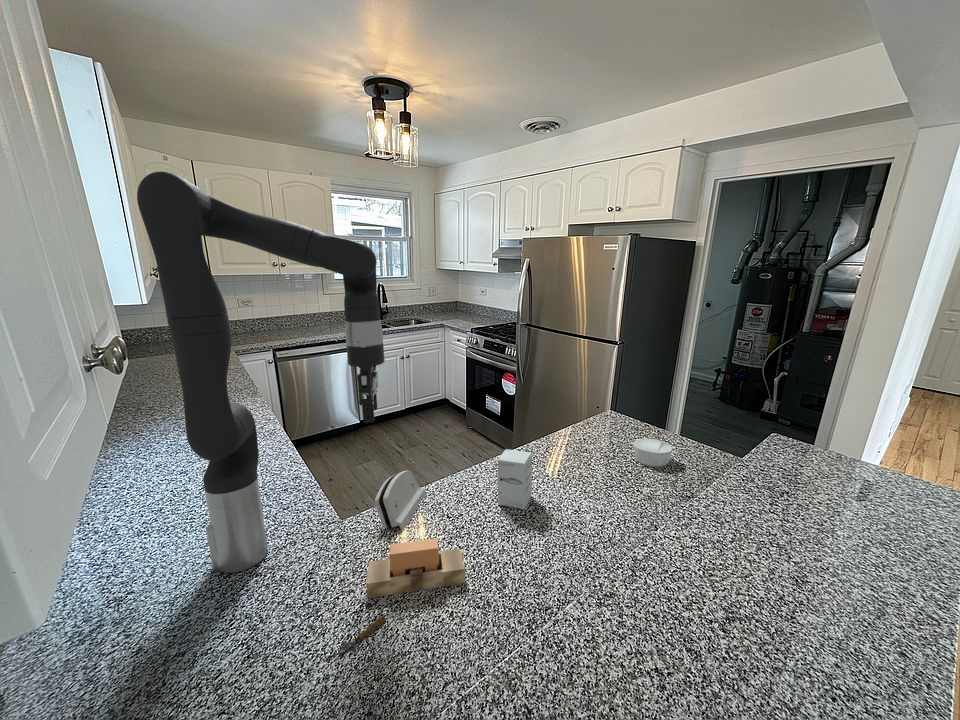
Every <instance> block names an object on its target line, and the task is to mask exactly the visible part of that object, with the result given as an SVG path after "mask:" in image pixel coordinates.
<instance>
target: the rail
mask: <svg viewBox="0 0 960 720" xmlns="http://www.w3.org/2000/svg"><path fill="white" fill-rule="evenodd" d="M438 555H439V565H437V570H436V571H430V572H426V571H425V567H418V568H411V569H406V573H410V574H406V575H403V576H397V577H393V576H392V575H393V571H391V570H390V558H385V559H379V560H371V561H368V566H367V575H366V581H365V587H366V597H367V599H372V598H378V597H383V596H384V597H385V596H391V595H397V594H402V593H403V594H405V593H409V592H416V591H417V592H418V591H422V590H429V589H435V588H442V587H448V586H454V585H460V584H465V583H466V570H465V569H466V567H465V563H464V558H463V553H462V549H461V548H456V549H447V550H441V551H439V550H438ZM438 568H441V569H438ZM423 571H424V572H423ZM391 574H392V575H391Z"/></svg>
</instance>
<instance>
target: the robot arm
mask: <svg viewBox="0 0 960 720" xmlns="http://www.w3.org/2000/svg"><path fill="white" fill-rule="evenodd" d="M136 196H137V197H136V200H137V205H138V209H139V213H140V216H141V218H142V222H143V224H144V225H143V226H144V227H145V230H146V233H147V236H148V240H149V242H150V245H151V247H152V251H153V255H154V258H155V261H156V268H157V272H158V273H157V274H158V278H159V284H160V289H161V293H162V298H163V303H164V308H165V309H164V310H165V314H166V315H165V316H166V319H167V324H168V330H169V334H170V335H169V336H170V338H171V343H172V345H173V346H172V347H173V350H174V354H175V361H176V365H177V371H178V376H179V381H180V385H181V389H182V397H183V409H184V420H185V421H184V423H185V433H186V439H187V442H188V445H189V447H190V448H191V450H192V452H194V454H195V455H197V456H198V457H200V458H201V459H203V460H206V461H208V465H207V468H206V470H205V472H204V473H203V479H202V482H203V488H204V494H205V495H204V496H205V500H206V505H207V513H208V518H209V524H208V525H207V526H206V529H205V531H206V536H207V537H206V538H207V543H208V548H209V553H210V560H211V567H212V571H219V572H221V573H227V574H232V573H233V574H234V573H238V572H243V571H245V570H248V569H250V568H252V567H254V566H255V565H257V564H258V563H260V562H262V561H263V560H264V559H265V557H266V556H267V554H268V552H269V550H268V549H269V547H268V540H267V533H266V526H265V519H264V512H263V506H262V505H263V504H262V498H261V491H260V483H259V482H260V481H259V476H258V475H259V474H258V465H259V459H260V456H259V455H260V454H259V445H258V434H257V427H256V422H255V418H254V416H253V414H252V412H250V410H249V409H248V408H247V407H245V406H244V405H242V404H240V403H237V402H230V399H229V398H230V397H229V392H228V391H229V390H228V374H229V373H228V371H229V366H230V365H229V364H230V358H231V353H232V352H231V351H232V341H233V340H232V332H231V331H232V330H231V325H230V320H229V314H228V310H227V306H226V302H225V300H224V297H223V294H222V292H221V291H220V288H219V286H218V284H217V282H216V280H215V278H214V276H213V274H212V272H211V270H210V268H209V264H208V262H207V260H206V255H205V252H204V251H205V250H204V246H203V238H202V236H203V237H210V238H216V239H221V240H226V241H231V242H236V243H239V244H243V245H246V246H249V247H252V248H254V249H258V250H260V251H262V252H266V253H268V254H271V255H274V256H277V257H280V258H283V259H287V260H289V261H292V262H297V263H300V264H303V265H307V266H310V267H315V268H322V269H325V270H327V271H331V272H333V273H336V274H339V275H342V279H343V288H344V299H343V301H344V303H343V309H344V318H345V320H344V321H345V332H344V333H345V343H346V344H345V345H346V357H347V364H348V366H349V367H352V368H359V372H358V374H357V375H356V381H357V392H358V403H359V406H361V410H362V412H361V413H362V422H363V423H364V424H368V423H369V424H370V423H371V424H372V423H373V422H374V421H375V411H376V410H377V409H378V399H377V398H378V397H377V393H378V387H379V381H378V380H379V379H378V377H379V376H378V372H379V371H377V366H380V365H383V364H384V363H385V361H386V360H385V349H384V336H383V335H384V334H383V328H382V322H381V310H380V302H379V296H378V292H377V291H378V290H377V262H378V261H377V256H376V253H375V252H374V251H373V250H372V248H370V247H369V246H368V245H366V244H365V243H362V242H358V241H355V240H353V239H348V238H346V237H340V236H335V235H330V234H327V233H325V232H323V231H320V230H317V229H314V228H310V227H309V226H305V225H302V224H298V223H296V222H293V221H289V220H286V219H282V218H276V217H272V216H267V215H264V214H263V215H262V214H258V213H254V212H252V211H248V210H244V209H241V208H239V207H236V206H233V205H231V204H229V203H227V202H224V201H222V200H220V199H219V198H216V197H214V196H212V195H210V194H208V193H206V192H204V191H203V190H202V189H201V188H199V187H198V186H197V185H195V184H193V183H192V182H191V181H188V180H187V179H186V178H183V177H182V176H180V175H177V174H175V173H171V172H168V171H161V170H160V171H154V172H151V173H148V174H147V175H146V176H145V177H143V178H142V180H141V181H140V182H139V184H138V187H137V192H136ZM364 397H366V398H364Z"/></svg>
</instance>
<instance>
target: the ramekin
mask: <svg viewBox="0 0 960 720" xmlns="http://www.w3.org/2000/svg"><path fill="white" fill-rule="evenodd" d="M632 446H633V450H634V457H635V459H636V461H638V462H639V464H641V465H644V466H647V467H651V468H660V467H664V466H667V465H668V464H669V462H670V458H671V454H672V453H673V447H672V445H670V444H669V443H667V442H665V441H663V440H658V439H653V438H639V439H636V440H634V441H633V443H632Z"/></svg>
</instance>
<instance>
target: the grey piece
mask: <svg viewBox="0 0 960 720" xmlns="http://www.w3.org/2000/svg"><path fill="white" fill-rule="evenodd" d="M420 488H421V487H420V486H419V483H418V482H417V480H416V477H415V475H414V473H413V472H412V470H404V471H403V470H402V471H399V472H397V473H395V474H393V475H391V476H390V477H389V478H387V479H386V480H385V481H384V482H383V484H382V485H381V486H380V488H379V490H378V492H377V494H376V496H375V499H374V505H375V508H376V511H377V514H378V517H379V520H380V522H381V527H382V529H383V528H386V529H385V530H388V529H389V527H391V528H395V527H398V526H399V528H400V530H403V531H405V529H406V528H407V526H408V524H409V523H410V521H411V520H410V519H412V518H413V517H414V515H415V514H416V512H417V511H416V510H418V509H419V508H418V506H419V504H420V503H421V501H422V500H423V498H424V496H425V495H426V496H427V492H426V491H425V489H424V488H422V489H420ZM419 489H420V490H419ZM423 501H424V500H423ZM421 504H422V503H421ZM419 507H420V506H419ZM417 508H418V509H417ZM415 511H416V512H415ZM414 513H415V514H414ZM412 516H413V517H412ZM404 528H405V529H404Z"/></svg>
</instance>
